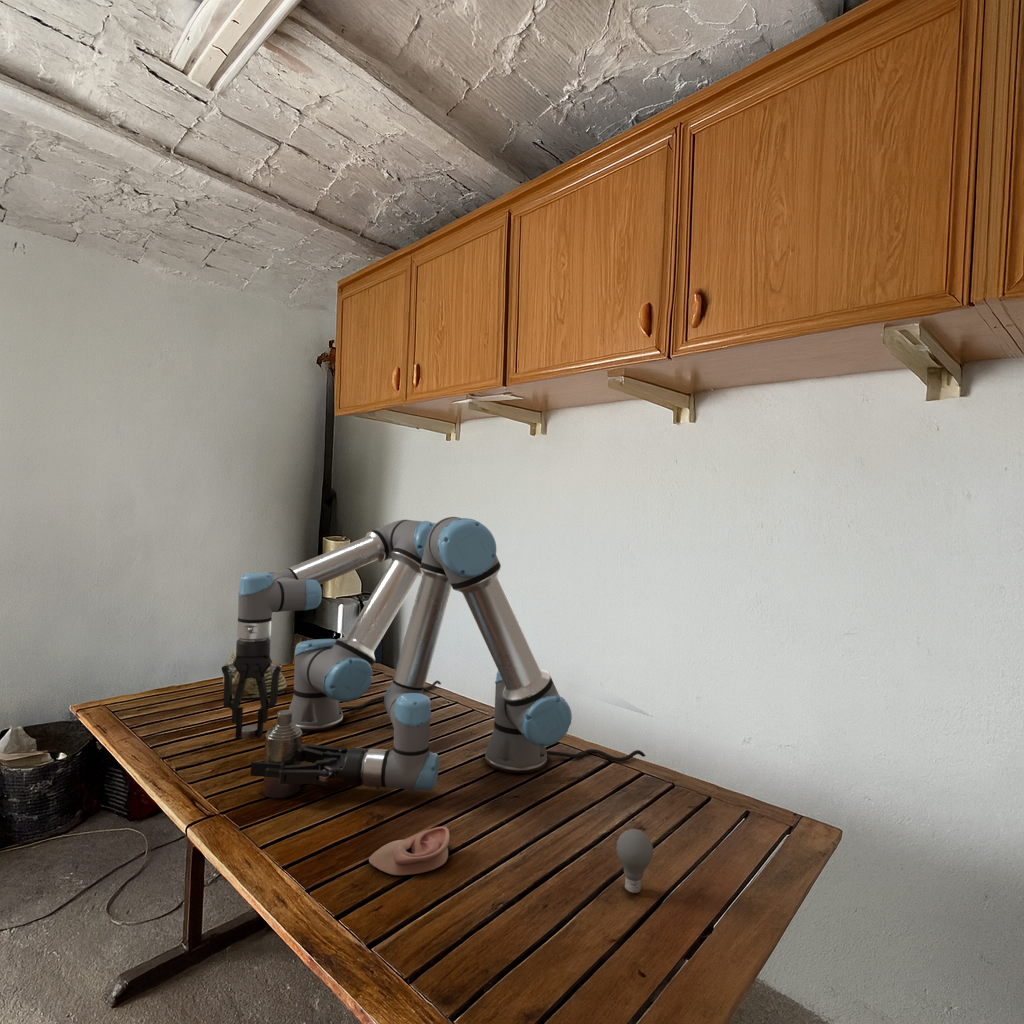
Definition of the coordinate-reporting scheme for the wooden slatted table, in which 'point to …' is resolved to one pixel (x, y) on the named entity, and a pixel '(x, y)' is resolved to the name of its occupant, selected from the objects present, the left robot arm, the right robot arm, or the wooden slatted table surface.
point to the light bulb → (634, 857)
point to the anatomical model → (413, 853)
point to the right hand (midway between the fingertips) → (260, 760)
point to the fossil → (254, 682)
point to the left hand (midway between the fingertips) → (249, 736)
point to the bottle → (282, 753)
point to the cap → (248, 732)
